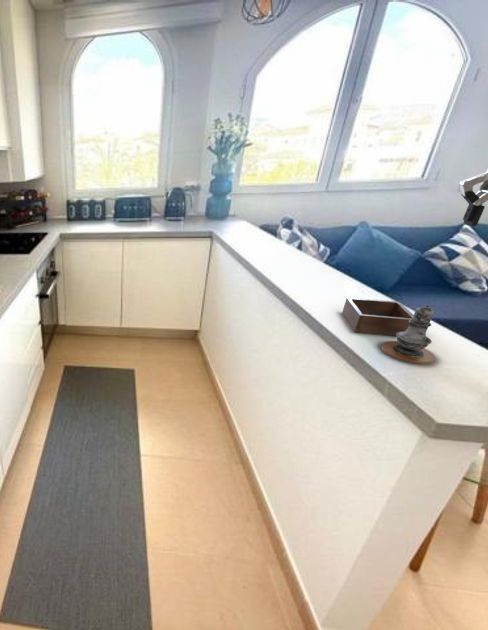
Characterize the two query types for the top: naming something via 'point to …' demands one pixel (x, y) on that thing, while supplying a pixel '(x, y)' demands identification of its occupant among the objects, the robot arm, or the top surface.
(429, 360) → the coaster
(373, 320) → the crate
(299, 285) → the top surface
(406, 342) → the stone chess piece
